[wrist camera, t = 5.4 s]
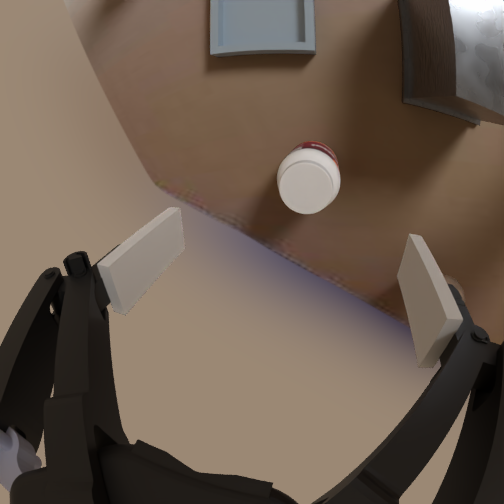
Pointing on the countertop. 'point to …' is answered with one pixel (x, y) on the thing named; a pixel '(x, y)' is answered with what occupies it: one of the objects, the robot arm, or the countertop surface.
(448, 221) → the countertop surface
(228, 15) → the tray
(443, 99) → the box
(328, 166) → the pill bottle
